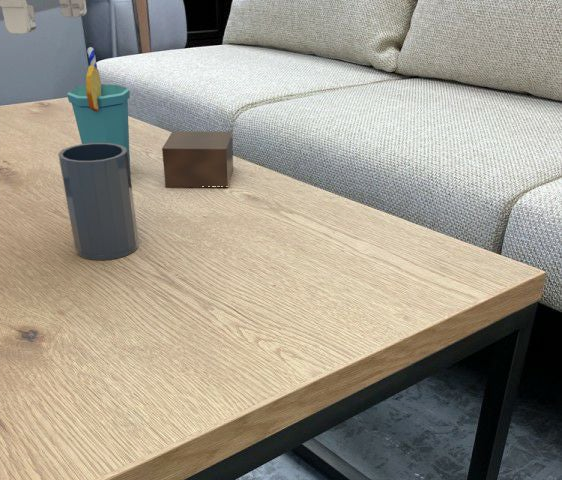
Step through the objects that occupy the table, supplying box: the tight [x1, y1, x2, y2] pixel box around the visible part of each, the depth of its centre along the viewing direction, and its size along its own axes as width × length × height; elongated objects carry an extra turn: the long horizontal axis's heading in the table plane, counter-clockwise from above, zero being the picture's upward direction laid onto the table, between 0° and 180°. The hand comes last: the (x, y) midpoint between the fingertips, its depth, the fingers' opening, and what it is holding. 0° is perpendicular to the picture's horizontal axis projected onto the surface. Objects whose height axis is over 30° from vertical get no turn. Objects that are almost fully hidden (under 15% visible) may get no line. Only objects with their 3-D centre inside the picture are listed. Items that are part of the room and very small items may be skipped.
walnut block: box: [161, 130, 234, 188], centre depth 91 cm, size 8×8×5 cm
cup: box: [66, 46, 131, 170], centre depth 91 cm, size 14×8×15 cm, turn 17°
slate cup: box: [57, 143, 139, 261], centre depth 71 cm, size 6×6×10 cm
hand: (50, 24), depth 57 cm, fingers open, 8 cm apart
